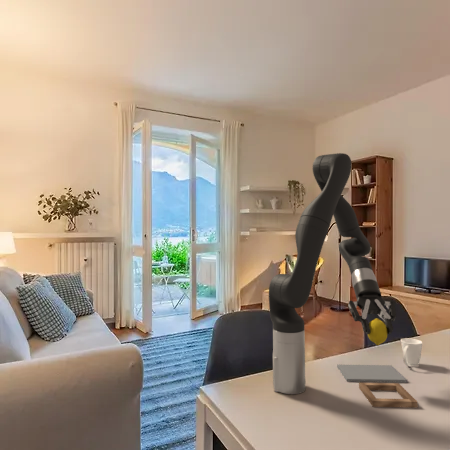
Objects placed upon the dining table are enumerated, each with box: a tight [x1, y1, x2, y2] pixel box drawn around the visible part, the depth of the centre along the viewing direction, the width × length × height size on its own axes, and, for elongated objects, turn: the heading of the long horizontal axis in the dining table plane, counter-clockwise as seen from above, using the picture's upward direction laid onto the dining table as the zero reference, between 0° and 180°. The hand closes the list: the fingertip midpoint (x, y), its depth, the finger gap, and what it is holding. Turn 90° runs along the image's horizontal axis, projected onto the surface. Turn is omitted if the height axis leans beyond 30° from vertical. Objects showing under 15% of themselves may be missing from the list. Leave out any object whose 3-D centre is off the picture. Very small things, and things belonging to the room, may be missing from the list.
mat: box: [336, 364, 408, 383], centre depth 114 cm, size 18×12×1 cm, turn 86°
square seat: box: [358, 382, 419, 409], centre depth 98 cm, size 11×11×2 cm
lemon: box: [367, 318, 389, 346], centre depth 106 cm, size 6×6×8 cm
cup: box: [400, 337, 423, 368], centre depth 121 cm, size 7×10×8 cm
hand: (379, 332), depth 104 cm, fingers closed on lemon, 5 cm apart
